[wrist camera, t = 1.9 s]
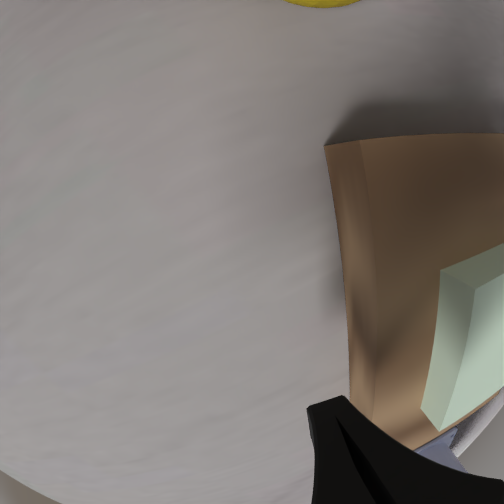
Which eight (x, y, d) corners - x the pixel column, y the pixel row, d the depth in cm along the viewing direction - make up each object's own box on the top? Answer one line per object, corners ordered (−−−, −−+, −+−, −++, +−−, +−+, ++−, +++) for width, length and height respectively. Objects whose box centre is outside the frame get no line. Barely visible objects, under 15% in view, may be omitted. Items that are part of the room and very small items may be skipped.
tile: (492, 362, 12) (511, 379, 10) (420, 408, 12) (438, 431, 10) (516, 236, 10) (544, 247, 8) (440, 270, 9) (475, 289, 7)
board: (477, 374, 17) (498, 393, 14) (349, 440, 16) (364, 472, 13) (497, 134, 11) (534, 135, 8) (323, 146, 11) (359, 139, 8)
